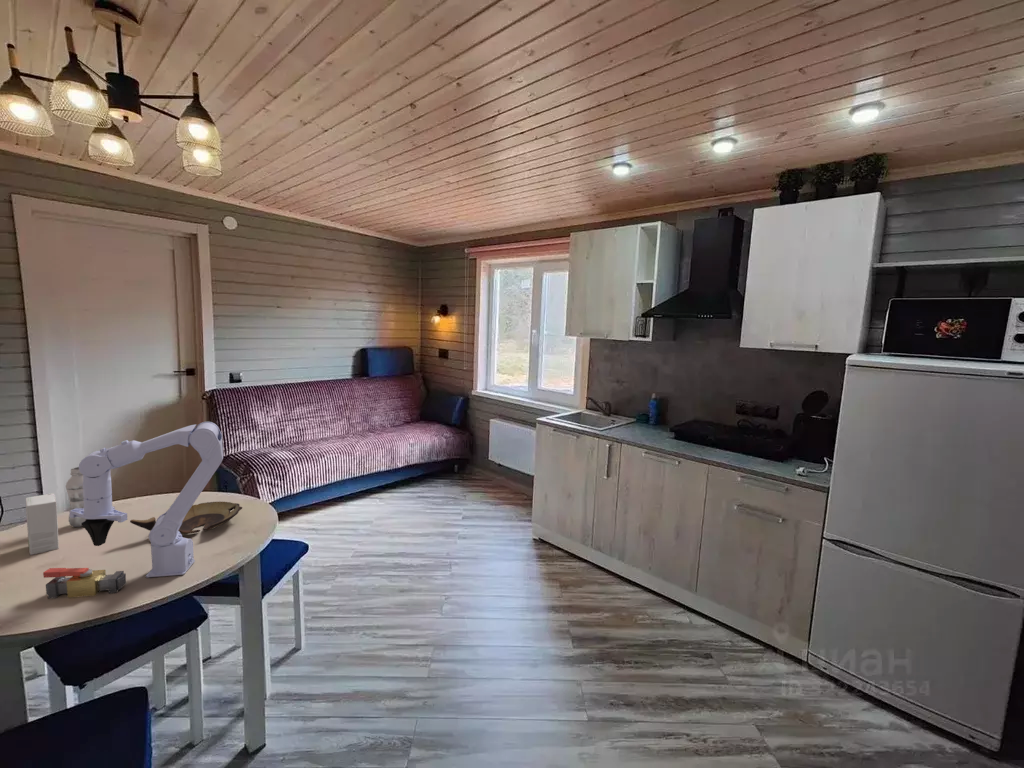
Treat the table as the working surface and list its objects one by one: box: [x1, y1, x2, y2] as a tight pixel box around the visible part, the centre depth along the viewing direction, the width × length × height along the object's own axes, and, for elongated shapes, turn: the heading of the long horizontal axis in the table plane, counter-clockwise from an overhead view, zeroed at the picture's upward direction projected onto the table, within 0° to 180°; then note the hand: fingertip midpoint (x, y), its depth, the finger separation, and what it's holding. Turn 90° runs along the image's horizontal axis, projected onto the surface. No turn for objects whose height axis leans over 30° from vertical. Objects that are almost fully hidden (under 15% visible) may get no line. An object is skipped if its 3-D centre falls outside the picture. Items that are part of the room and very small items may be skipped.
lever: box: [42, 567, 93, 579], centre depth 121 cm, size 10×2×2 cm, turn 99°
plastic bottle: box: [65, 466, 86, 528], centre depth 157 cm, size 6×7×20 cm
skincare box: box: [25, 493, 59, 556], centre depth 142 cm, size 8×7×16 cm
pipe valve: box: [45, 569, 127, 599], centre depth 122 cm, size 16×5×5 cm, turn 105°
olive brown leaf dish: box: [129, 501, 243, 535], centre depth 160 cm, size 22×30×8 cm
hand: (99, 544), depth 126 cm, fingers closed
